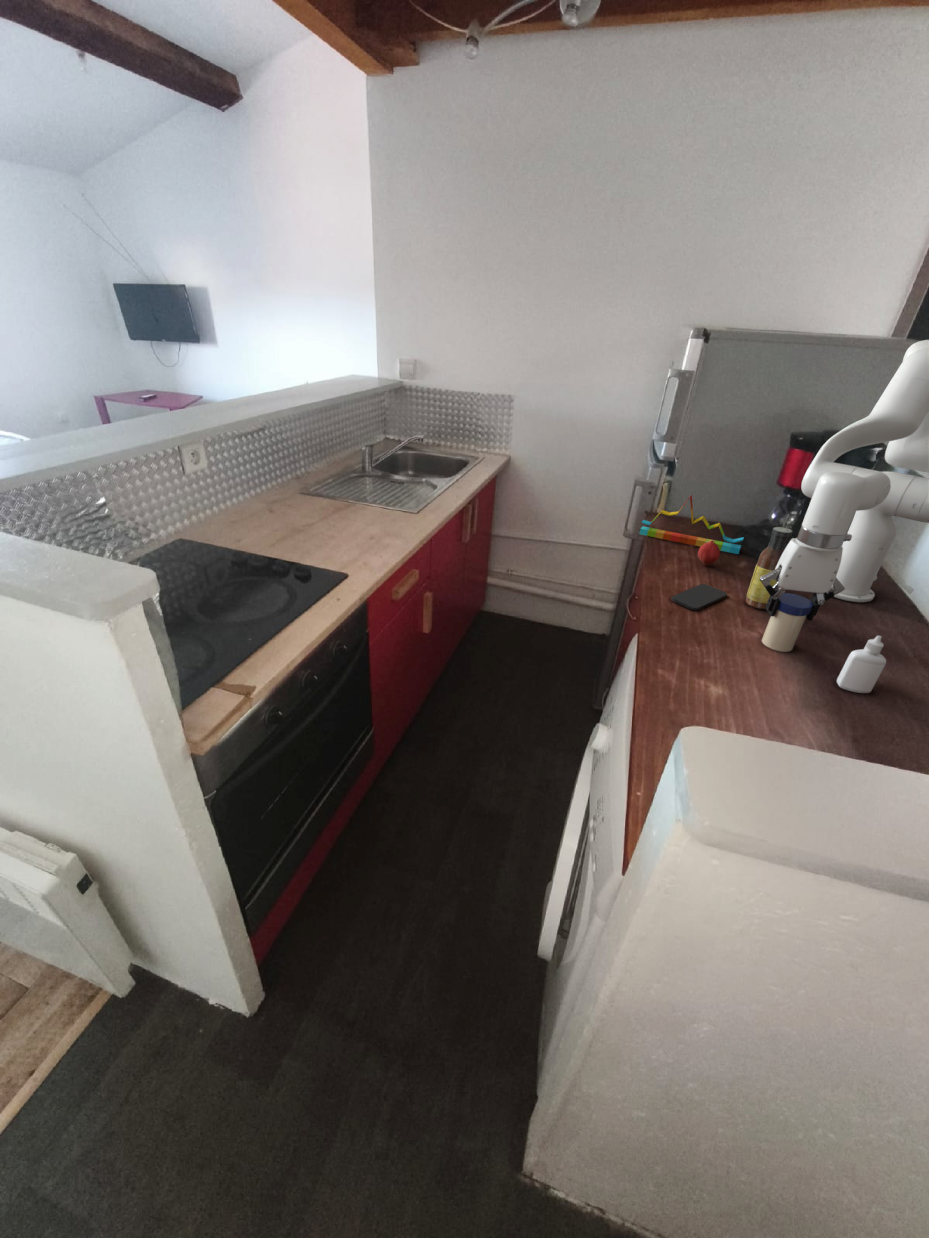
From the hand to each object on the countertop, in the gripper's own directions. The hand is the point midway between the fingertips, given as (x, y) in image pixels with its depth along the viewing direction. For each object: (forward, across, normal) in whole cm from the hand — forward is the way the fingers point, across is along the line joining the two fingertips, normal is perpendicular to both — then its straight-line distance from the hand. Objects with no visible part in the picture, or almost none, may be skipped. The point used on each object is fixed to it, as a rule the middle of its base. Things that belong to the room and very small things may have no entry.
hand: (788, 614), depth 110 cm
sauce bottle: (+8, -1, -19) cm, 21 cm away
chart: (+8, +10, -59) cm, 60 cm away
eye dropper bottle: (+8, -10, +14) cm, 18 cm away
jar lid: (-3, 0, 0) cm, 3 cm away
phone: (+8, +13, -18) cm, 24 cm away
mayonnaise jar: (+8, 0, 0) cm, 8 cm away
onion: (+8, +7, -41) cm, 43 cm away
